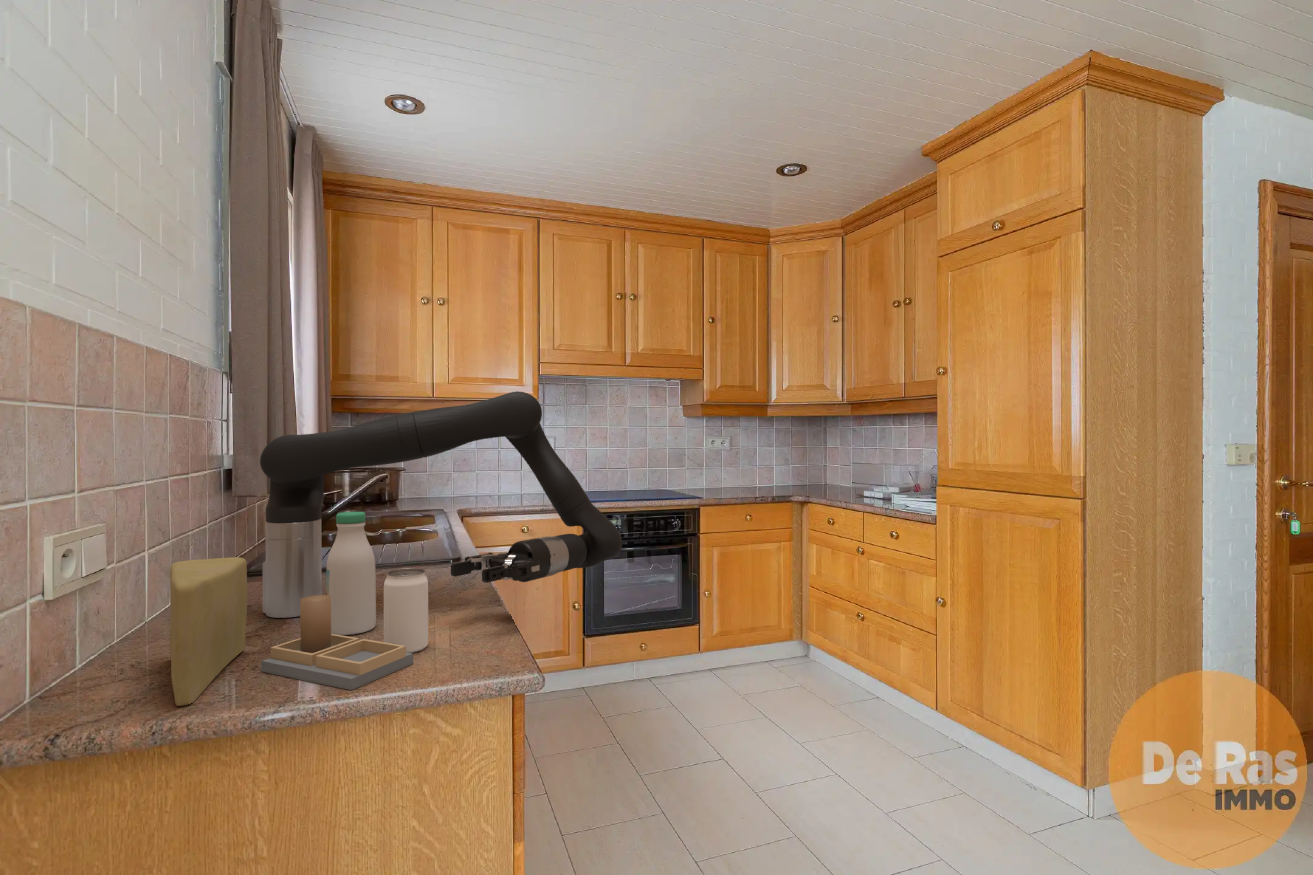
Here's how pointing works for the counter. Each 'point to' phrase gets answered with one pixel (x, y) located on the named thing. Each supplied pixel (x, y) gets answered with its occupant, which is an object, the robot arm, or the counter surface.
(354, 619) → the milk bottle
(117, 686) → the counter surface
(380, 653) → the socket board
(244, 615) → the cheese
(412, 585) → the can
